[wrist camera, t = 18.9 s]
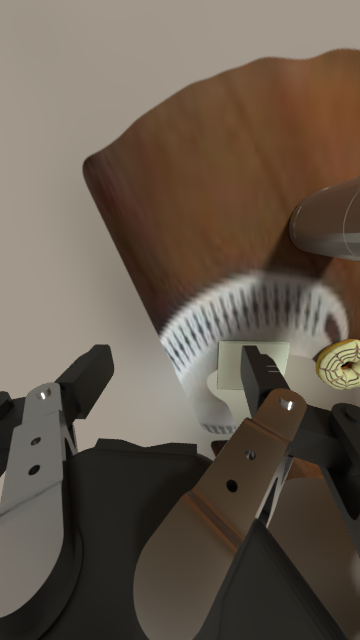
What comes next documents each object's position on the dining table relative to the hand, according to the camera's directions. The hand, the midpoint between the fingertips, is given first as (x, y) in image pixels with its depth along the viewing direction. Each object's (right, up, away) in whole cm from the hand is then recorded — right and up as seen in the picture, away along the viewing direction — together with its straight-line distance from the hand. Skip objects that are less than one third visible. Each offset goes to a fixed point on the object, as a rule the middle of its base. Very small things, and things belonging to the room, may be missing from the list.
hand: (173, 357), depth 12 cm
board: (+16, -8, +32) cm, 37 cm away
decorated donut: (+34, -6, +30) cm, 46 cm away
